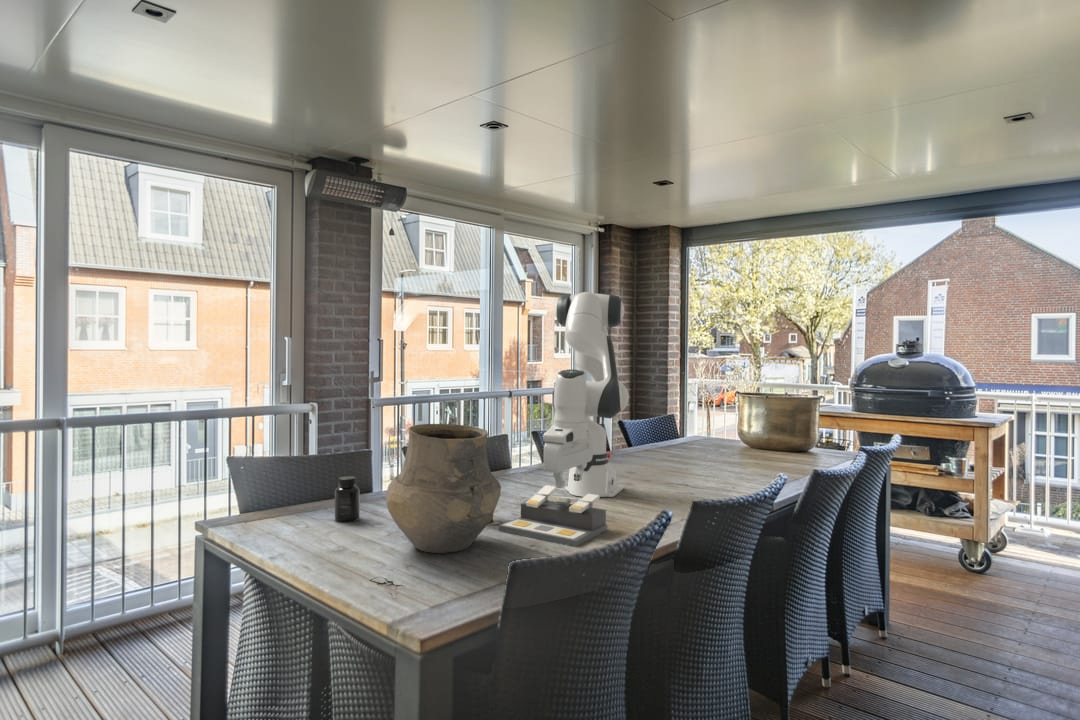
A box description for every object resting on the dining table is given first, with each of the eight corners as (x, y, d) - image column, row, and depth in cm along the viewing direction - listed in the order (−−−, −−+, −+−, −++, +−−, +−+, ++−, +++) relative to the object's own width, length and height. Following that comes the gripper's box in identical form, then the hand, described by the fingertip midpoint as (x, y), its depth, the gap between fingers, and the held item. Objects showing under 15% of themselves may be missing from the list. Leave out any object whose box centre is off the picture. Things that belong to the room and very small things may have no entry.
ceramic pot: (447, 524, 179) (449, 418, 178) (524, 545, 161) (526, 427, 160) (362, 547, 157) (363, 426, 156) (439, 575, 139) (441, 438, 138)
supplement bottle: (364, 518, 184) (364, 476, 184) (348, 523, 178) (348, 481, 177) (346, 515, 187) (346, 474, 186) (329, 520, 180) (329, 478, 180)
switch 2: (566, 505, 184) (567, 496, 184) (577, 506, 182) (578, 498, 182) (546, 504, 175) (548, 495, 175) (558, 506, 173) (559, 497, 173)
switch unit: (534, 516, 189) (534, 498, 188) (607, 530, 176) (607, 510, 176) (498, 530, 173) (498, 510, 173) (575, 546, 161) (576, 525, 160)
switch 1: (546, 492, 188) (545, 484, 187) (557, 493, 186) (556, 486, 186) (526, 510, 179) (525, 502, 179) (537, 512, 177) (536, 504, 177)
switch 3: (588, 501, 181) (588, 493, 180) (599, 503, 179) (599, 495, 178) (569, 515, 172) (569, 507, 171) (581, 517, 170) (580, 509, 169)
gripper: (578, 426, 178) (577, 475, 178) (539, 435, 160) (538, 489, 161) (598, 428, 174) (597, 478, 175) (561, 437, 157) (560, 493, 157)
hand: (569, 483), depth 168 cm, fingers open, 8 cm apart
